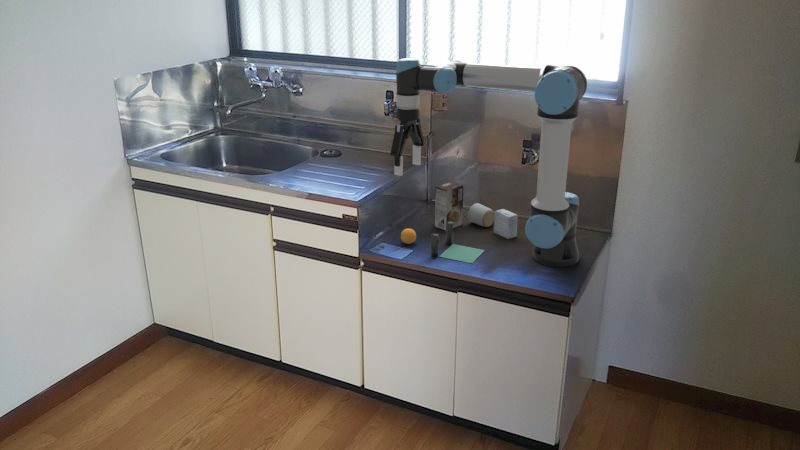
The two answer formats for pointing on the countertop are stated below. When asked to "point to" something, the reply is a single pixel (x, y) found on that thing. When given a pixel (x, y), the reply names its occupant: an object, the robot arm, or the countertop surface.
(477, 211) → the white cylinder
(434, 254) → the post
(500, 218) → the medicine box
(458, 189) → the coffee box
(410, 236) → the ball
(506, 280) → the countertop surface
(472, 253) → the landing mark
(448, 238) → the post
